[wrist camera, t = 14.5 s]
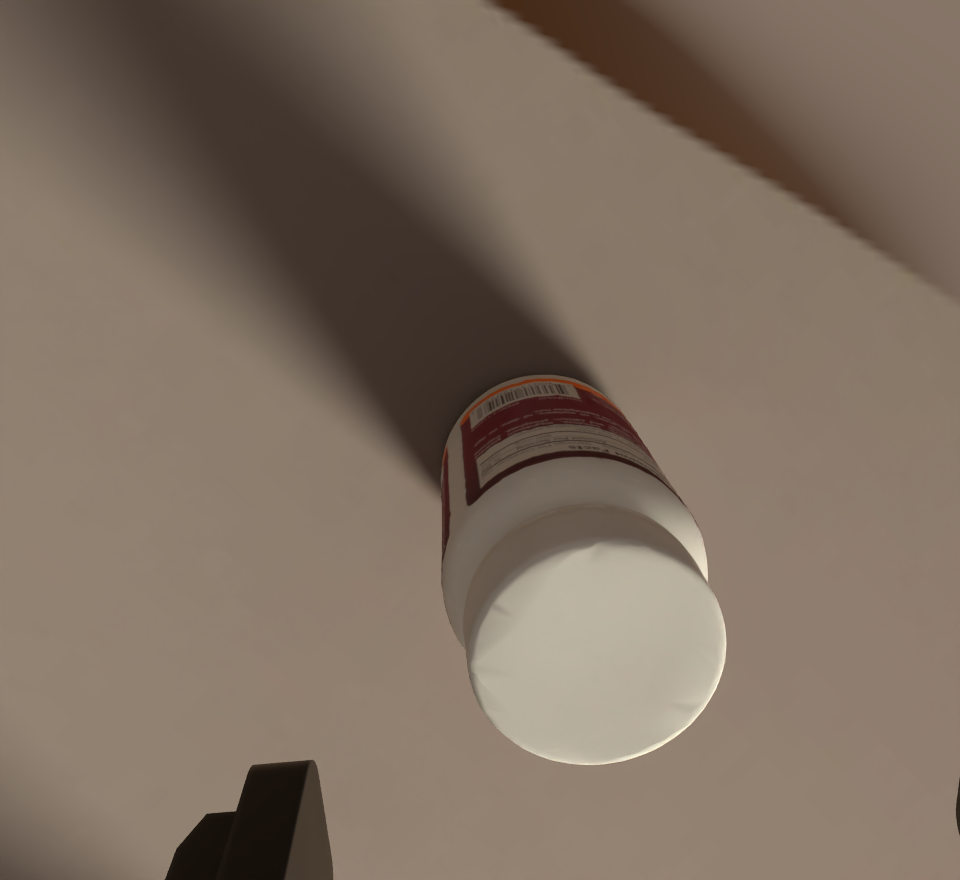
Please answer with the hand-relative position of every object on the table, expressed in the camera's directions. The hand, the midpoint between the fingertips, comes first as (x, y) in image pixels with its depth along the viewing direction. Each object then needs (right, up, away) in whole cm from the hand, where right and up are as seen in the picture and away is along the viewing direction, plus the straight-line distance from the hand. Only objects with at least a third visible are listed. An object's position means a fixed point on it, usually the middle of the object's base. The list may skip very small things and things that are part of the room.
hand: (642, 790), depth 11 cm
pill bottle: (-1, +4, +11) cm, 11 cm away
